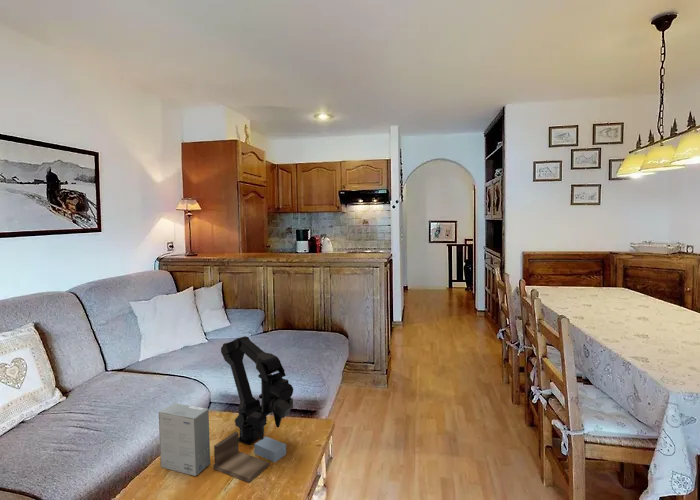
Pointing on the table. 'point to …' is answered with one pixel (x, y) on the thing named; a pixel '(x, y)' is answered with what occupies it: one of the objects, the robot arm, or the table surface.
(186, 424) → the hard drive box
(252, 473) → the walnut shelf
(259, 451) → the grey rectangular block
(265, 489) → the table surface
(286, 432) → the table surface
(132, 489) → the table surface
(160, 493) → the table surface
